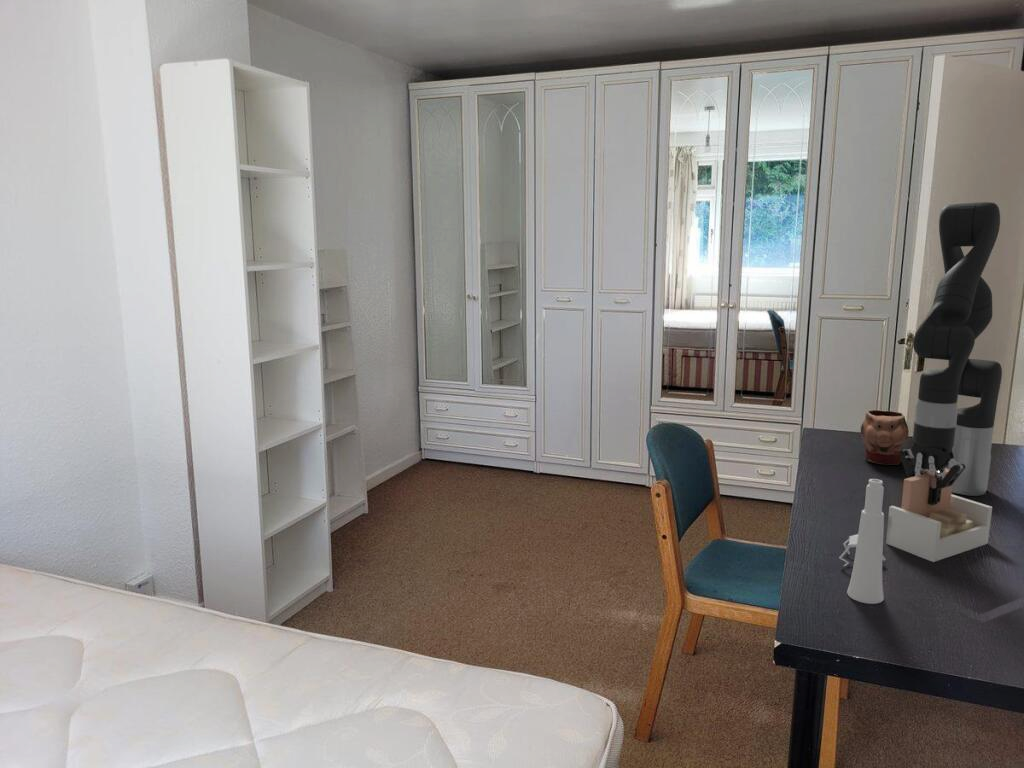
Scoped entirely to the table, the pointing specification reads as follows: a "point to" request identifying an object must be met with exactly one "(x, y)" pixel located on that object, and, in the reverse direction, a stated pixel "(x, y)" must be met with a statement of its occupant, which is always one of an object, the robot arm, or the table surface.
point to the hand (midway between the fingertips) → (926, 501)
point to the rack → (938, 531)
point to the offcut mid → (956, 529)
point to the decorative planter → (884, 436)
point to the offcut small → (949, 518)
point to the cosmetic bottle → (869, 549)
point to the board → (923, 495)
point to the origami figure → (852, 543)
